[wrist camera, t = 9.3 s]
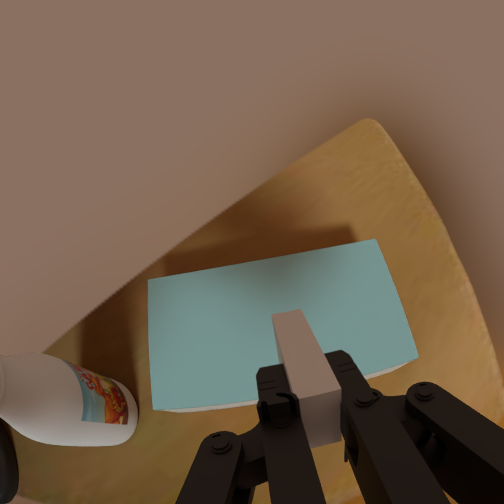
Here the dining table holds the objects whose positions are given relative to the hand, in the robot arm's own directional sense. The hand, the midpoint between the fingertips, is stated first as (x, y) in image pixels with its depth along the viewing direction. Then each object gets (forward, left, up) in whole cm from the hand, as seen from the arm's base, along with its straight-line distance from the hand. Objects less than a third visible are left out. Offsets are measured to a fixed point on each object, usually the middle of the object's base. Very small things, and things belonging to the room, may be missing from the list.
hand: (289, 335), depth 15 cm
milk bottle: (-19, -5, -16) cm, 25 cm away
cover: (-1, +4, -11) cm, 12 cm away
